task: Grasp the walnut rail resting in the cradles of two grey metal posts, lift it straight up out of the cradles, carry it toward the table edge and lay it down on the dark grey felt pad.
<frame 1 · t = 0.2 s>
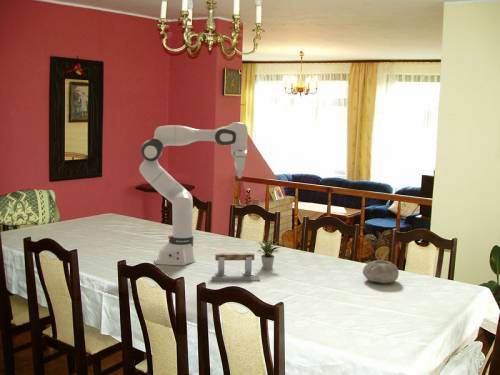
hand: (238, 176, 329), 47 cm above the table, fingers open, 8 cm apart
rail: (234, 259, 309), point 8 cm above the table, touching standard left, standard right
house plant: (266, 268, 324), on the table
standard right: (248, 274, 311), on the table
grey flattened round lump: (380, 281, 304), on the table
pad: (235, 279, 302), on the table
standard left: (221, 274, 309), on the table
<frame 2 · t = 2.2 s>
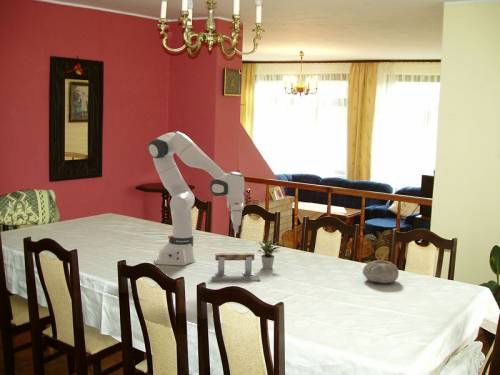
hand: (235, 230, 306), 23 cm above the table, fingers open, 8 cm apart
nothing on the table moved.
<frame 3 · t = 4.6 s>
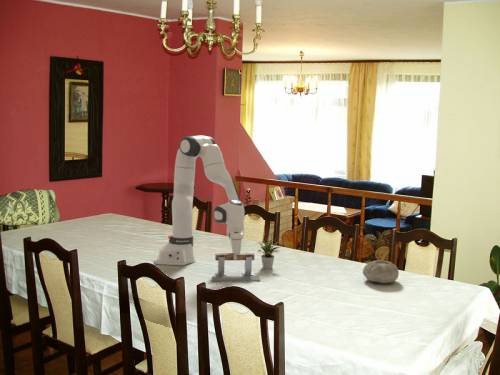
hand: (234, 258, 309), 9 cm above the table, fingers closed on rail, 3 cm apart
rail: (234, 259, 309), point 8 cm above the table, touching gripper, standard left, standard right
everything else where it was.
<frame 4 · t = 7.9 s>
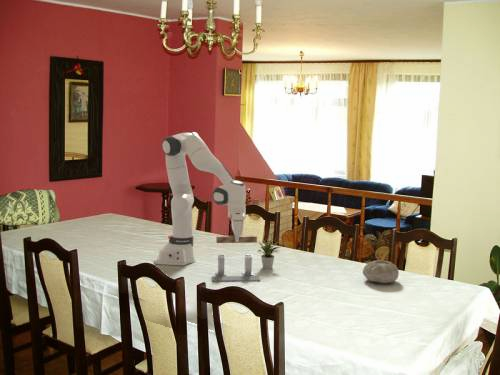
hand: (236, 240, 299), 20 cm above the table, fingers closed on rail, 3 cm apart
rail: (236, 242, 299), point 19 cm above the table, touching gripper
everything else where it was.
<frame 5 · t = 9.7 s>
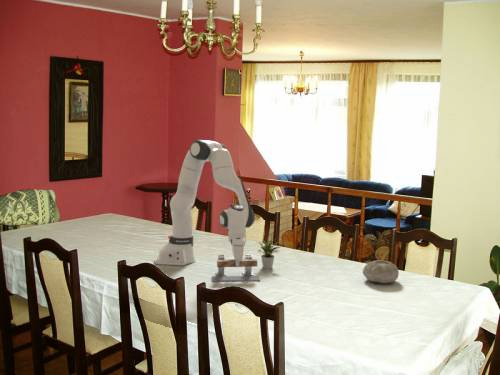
hand: (236, 264, 301), 7 cm above the table, fingers closed on rail, 3 cm apart
rail: (237, 266, 301), point 7 cm above the table, touching gripper
everything else where it was.
when the fingers open (3 cm above the table, at t = 11.4 s): rail drops 2 cm, resting on pad.
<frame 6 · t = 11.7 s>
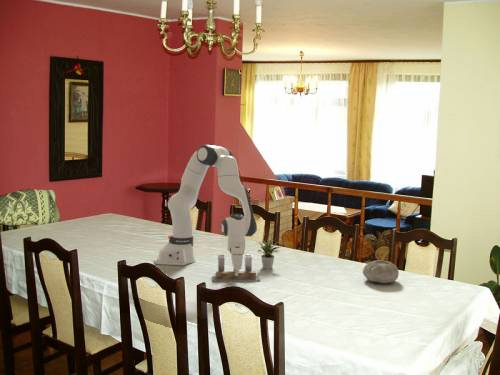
hand: (235, 273, 302), 3 cm above the table, fingers open, 6 cm apart
rail: (235, 278, 302), point 1 cm above the table, touching pad
everything else where it was.
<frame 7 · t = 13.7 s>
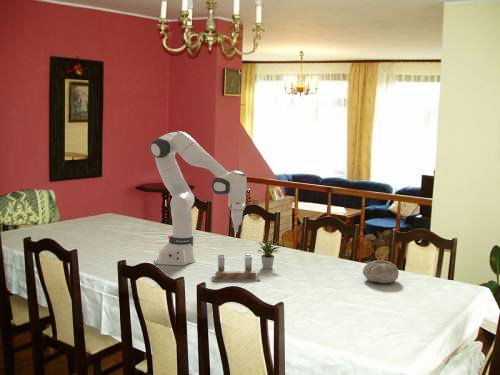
hand: (235, 230, 304), 24 cm above the table, fingers open, 8 cm apart
nothing on the table moved.
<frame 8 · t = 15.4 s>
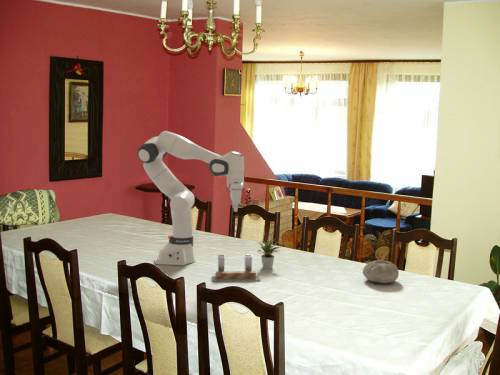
hand: (234, 209, 310), 33 cm above the table, fingers open, 8 cm apart
nothing on the table moved.
at the end: rail inside the target area (0.1 cm from its centre), point 0.6 cm above the table; rail touching pad; the gripper is holding nothing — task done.
